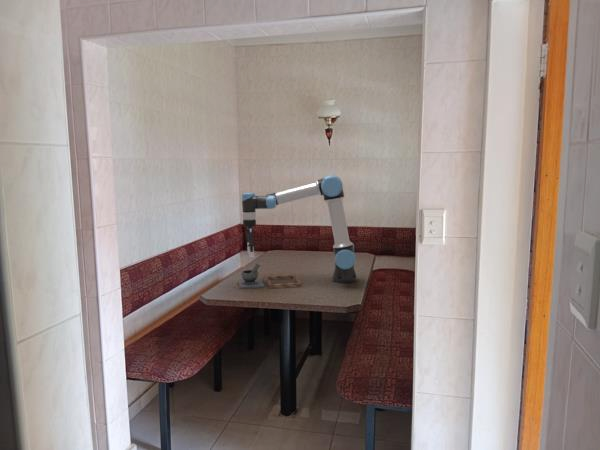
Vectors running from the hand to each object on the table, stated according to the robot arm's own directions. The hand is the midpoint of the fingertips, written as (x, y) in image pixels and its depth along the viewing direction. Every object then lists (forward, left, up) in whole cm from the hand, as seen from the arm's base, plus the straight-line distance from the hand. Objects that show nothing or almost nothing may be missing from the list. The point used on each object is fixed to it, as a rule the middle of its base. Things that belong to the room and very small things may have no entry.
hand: (250, 255), depth 271 cm
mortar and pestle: (0, 0, -17) cm, 17 cm away
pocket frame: (-19, 0, -18) cm, 26 cm away
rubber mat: (0, 0, -18) cm, 18 cm away
